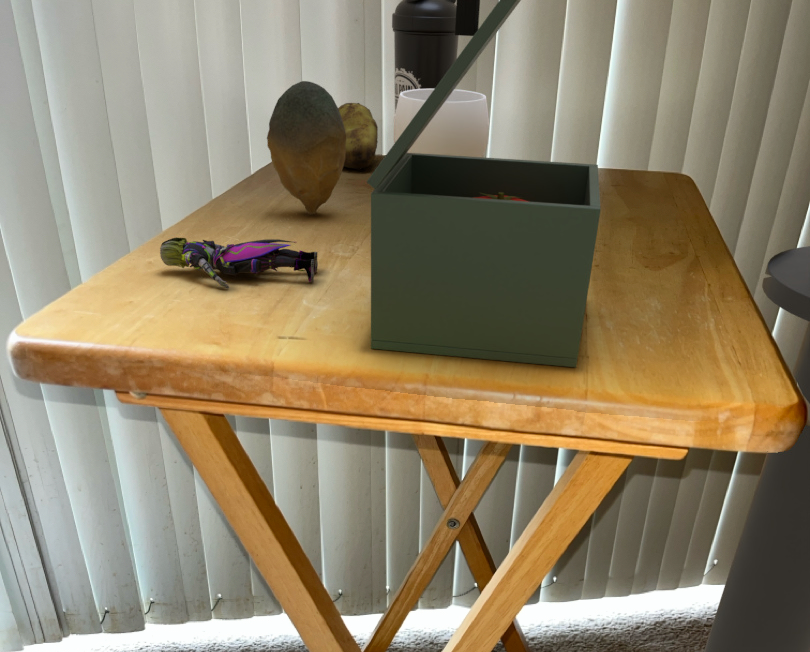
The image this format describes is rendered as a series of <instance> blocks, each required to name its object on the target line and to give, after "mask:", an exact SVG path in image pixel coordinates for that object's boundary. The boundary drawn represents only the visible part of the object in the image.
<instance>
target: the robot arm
mask: <svg viewBox="0 0 810 652" xmlns="http://www.w3.org/2000/svg"><path fill="white" fill-rule="evenodd" d="M455 5H456V24H455V35H459V36H461V37H462V36H463V37H464V36H465V37H473V36H474V35H475V33H476V32H477V30H478V29H479V24H480V23H479V22H480V9H481V0H456V3H455Z"/></svg>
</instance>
